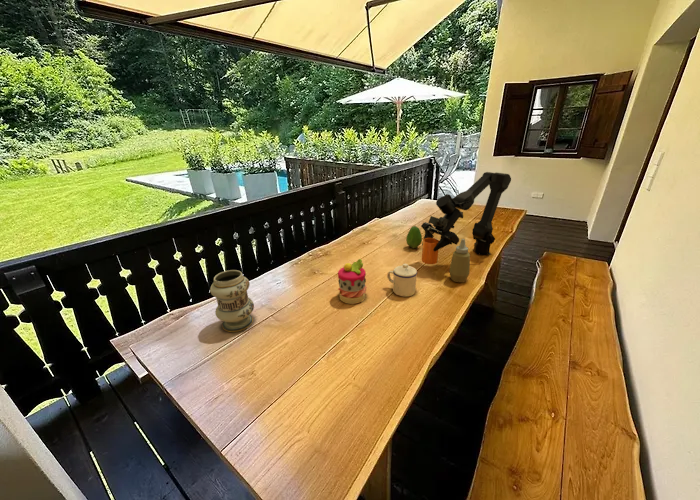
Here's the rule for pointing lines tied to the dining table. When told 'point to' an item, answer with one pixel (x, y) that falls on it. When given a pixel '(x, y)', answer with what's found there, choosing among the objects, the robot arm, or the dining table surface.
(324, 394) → the dining table surface
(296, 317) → the dining table surface
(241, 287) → the apothecary jar
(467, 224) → the dining table surface
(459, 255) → the squeeze bottle
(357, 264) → the cake
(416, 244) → the avocado
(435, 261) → the orange cup
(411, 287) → the teacup with lid
